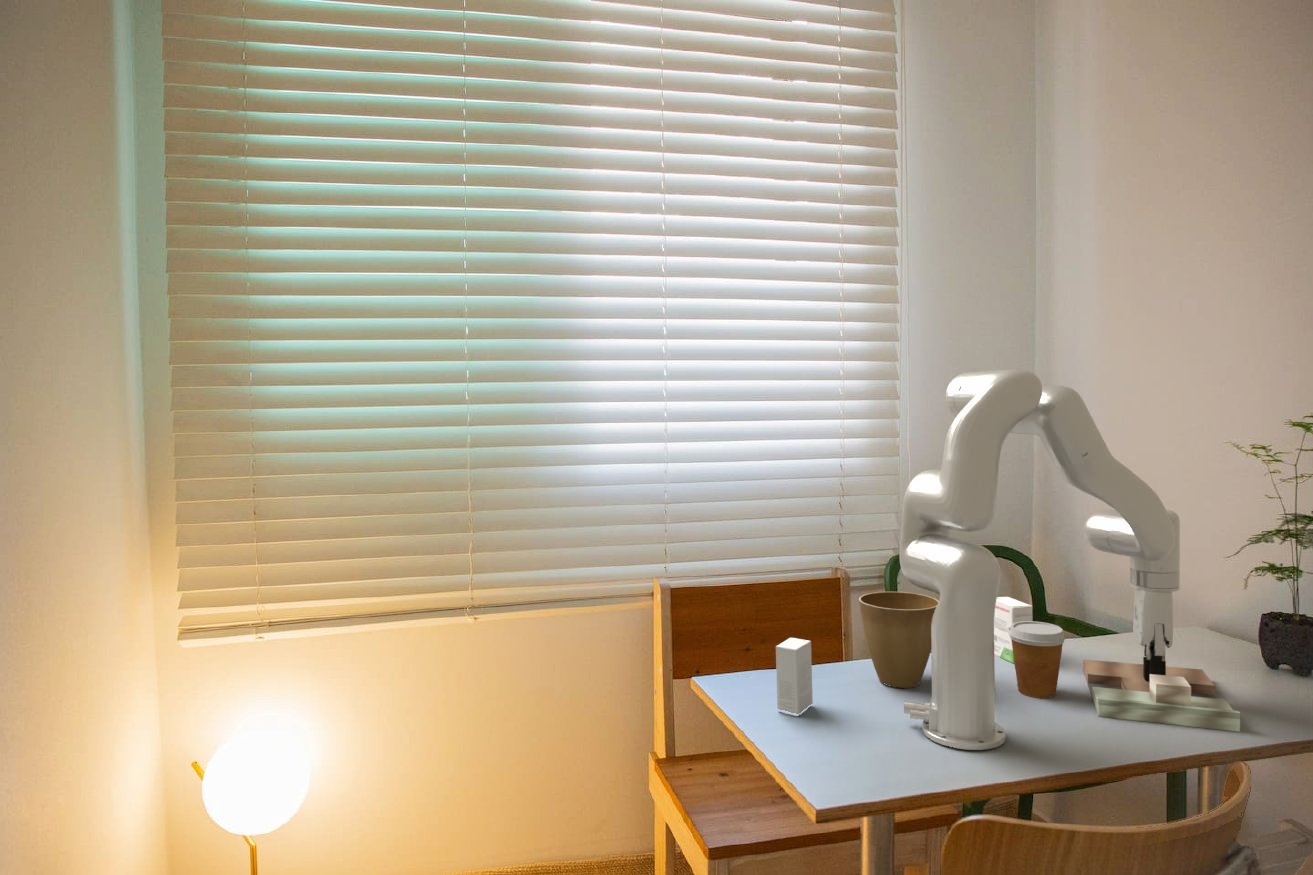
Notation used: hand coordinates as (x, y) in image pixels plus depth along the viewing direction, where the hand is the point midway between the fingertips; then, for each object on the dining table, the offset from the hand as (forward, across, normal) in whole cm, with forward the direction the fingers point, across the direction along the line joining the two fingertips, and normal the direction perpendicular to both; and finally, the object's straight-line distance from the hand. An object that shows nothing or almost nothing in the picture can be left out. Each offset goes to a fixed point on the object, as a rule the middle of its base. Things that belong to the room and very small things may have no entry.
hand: (1154, 680), depth 145 cm
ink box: (+3, -17, -23) cm, 29 cm away
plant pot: (+3, +6, -43) cm, 44 cm away
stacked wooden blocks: (+3, 0, 0) cm, 3 cm away
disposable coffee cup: (+3, +3, -19) cm, 20 cm away
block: (+1, +8, +1) cm, 8 cm away
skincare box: (+3, +26, -59) cm, 64 cm away
